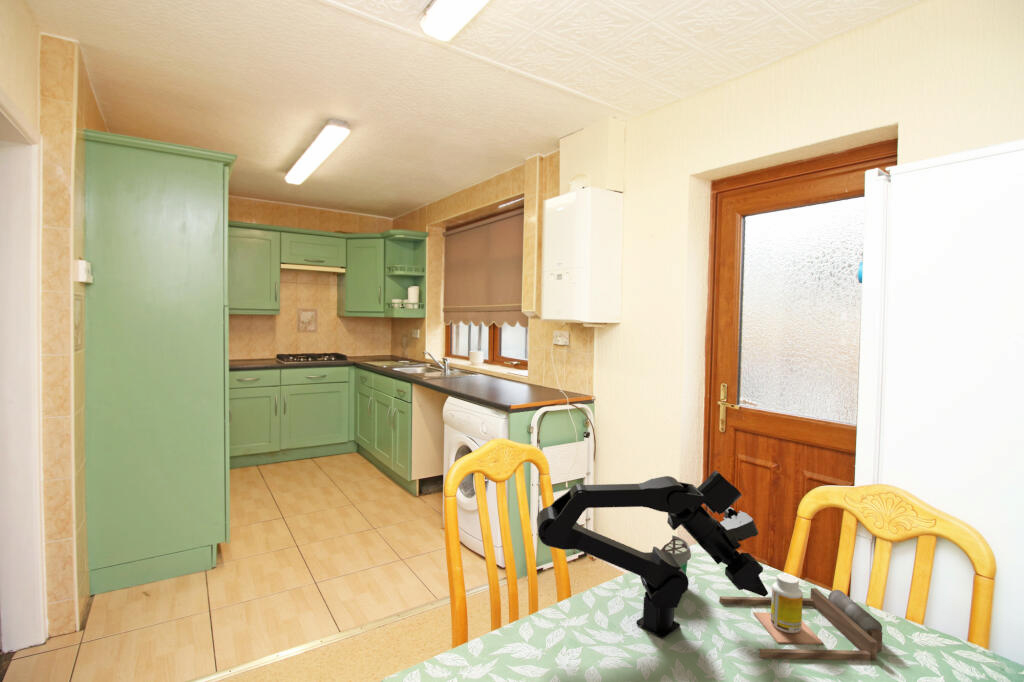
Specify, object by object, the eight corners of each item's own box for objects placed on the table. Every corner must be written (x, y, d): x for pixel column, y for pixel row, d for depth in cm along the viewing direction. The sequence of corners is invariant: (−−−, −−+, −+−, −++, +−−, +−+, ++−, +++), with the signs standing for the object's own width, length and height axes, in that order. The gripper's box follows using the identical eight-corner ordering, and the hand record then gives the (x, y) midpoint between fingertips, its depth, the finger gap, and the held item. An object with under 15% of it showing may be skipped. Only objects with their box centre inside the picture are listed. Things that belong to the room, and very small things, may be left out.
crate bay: (761, 658, 95) (762, 630, 95) (719, 601, 114) (720, 578, 114) (896, 660, 95) (898, 632, 95) (832, 603, 114) (833, 580, 114)
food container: (679, 604, 113) (681, 560, 112) (652, 594, 116) (654, 551, 116) (696, 582, 122) (698, 541, 122) (671, 573, 126) (673, 534, 126)
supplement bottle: (807, 633, 103) (810, 583, 102) (784, 636, 101) (786, 586, 101) (786, 617, 108) (788, 570, 108) (764, 620, 107) (766, 572, 106)
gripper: (754, 519, 94) (811, 579, 95) (714, 486, 113) (761, 536, 113) (710, 560, 94) (766, 619, 95) (677, 520, 113) (724, 570, 114)
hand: (754, 582), depth 104 cm, fingers open, 9 cm apart
